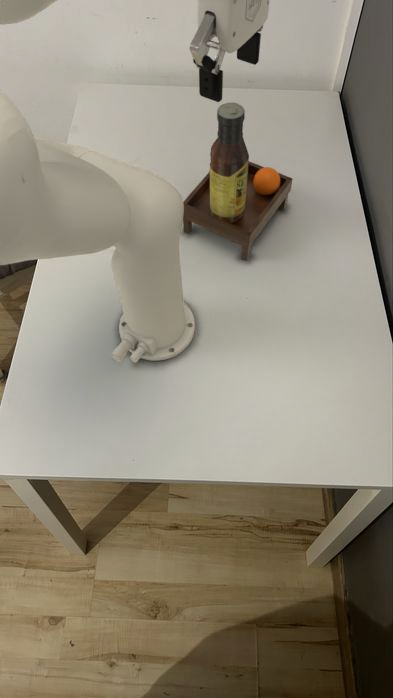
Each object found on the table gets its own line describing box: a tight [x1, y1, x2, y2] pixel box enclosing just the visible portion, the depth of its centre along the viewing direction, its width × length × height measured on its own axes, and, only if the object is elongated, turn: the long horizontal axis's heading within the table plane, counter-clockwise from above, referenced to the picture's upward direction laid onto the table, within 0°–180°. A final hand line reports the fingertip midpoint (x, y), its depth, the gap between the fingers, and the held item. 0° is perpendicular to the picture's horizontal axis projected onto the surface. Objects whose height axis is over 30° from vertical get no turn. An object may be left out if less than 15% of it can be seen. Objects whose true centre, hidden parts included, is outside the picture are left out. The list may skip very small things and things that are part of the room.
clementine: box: [253, 166, 280, 195], centre depth 90 cm, size 5×5×5 cm
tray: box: [182, 160, 294, 262], centre depth 92 cm, size 16×14×7 cm
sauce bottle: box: [209, 101, 250, 223], centre depth 81 cm, size 6×6×20 cm
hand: (229, 79), depth 68 cm, fingers open, 9 cm apart
